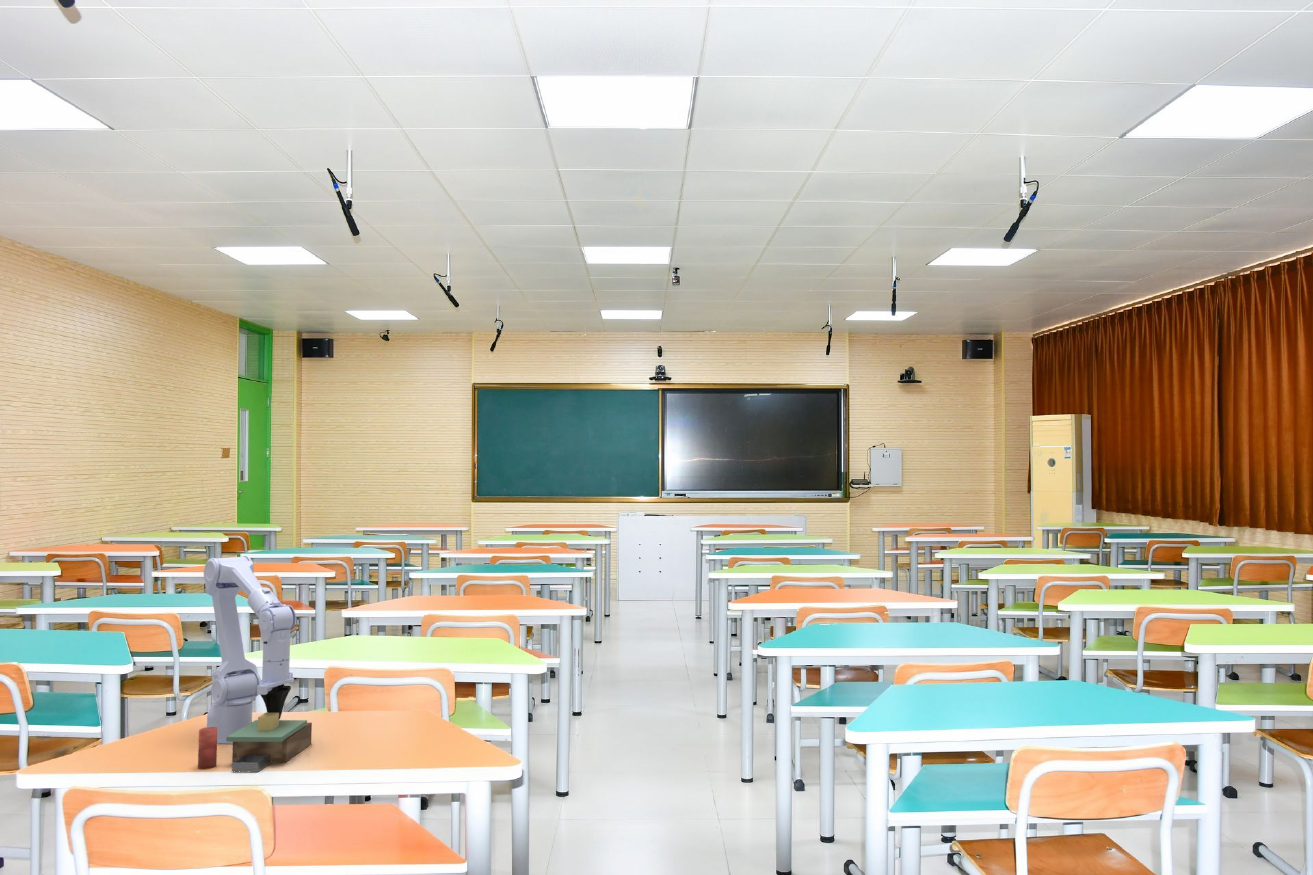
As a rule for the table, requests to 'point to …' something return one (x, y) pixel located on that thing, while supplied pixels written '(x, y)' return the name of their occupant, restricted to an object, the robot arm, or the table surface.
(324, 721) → the table surface
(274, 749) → the wooden box
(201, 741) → the key peg
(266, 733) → the lid
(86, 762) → the table surface
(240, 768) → the key socket
